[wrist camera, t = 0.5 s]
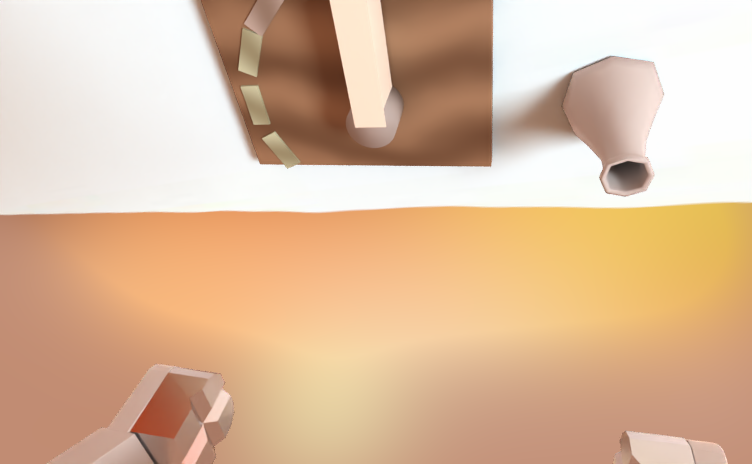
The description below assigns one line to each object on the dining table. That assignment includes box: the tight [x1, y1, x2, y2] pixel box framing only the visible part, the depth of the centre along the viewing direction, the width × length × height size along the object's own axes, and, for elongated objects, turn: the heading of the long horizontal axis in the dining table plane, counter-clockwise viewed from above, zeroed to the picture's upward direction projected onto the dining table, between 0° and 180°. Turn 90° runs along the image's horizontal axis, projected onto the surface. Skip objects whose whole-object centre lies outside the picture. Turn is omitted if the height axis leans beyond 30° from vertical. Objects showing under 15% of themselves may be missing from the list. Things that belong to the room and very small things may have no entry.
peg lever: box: [330, 0, 404, 148], centre depth 39 cm, size 14×4×4 cm, turn 8°
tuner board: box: [201, 0, 493, 169], centre depth 43 cm, size 19×22×2 cm
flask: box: [562, 56, 664, 196], centre depth 37 cm, size 7×7×10 cm
